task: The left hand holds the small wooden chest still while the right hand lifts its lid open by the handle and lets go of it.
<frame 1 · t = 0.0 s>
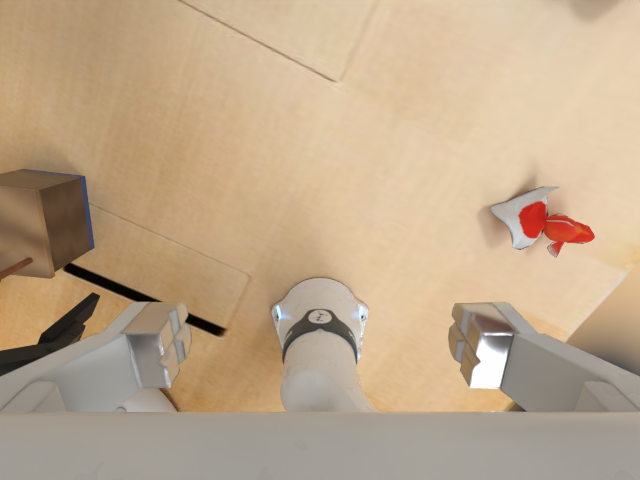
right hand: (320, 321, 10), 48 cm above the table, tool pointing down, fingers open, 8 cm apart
fish: (525, 216, 59), on the table
chest: (60, 210, 59), on the table
white rounded block: (141, 398, 75), on the table
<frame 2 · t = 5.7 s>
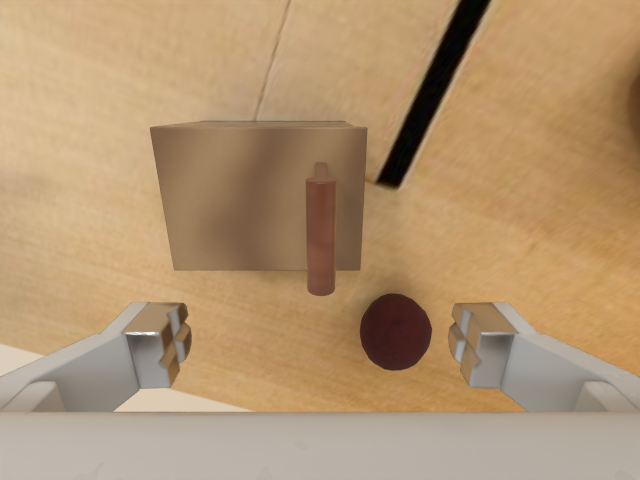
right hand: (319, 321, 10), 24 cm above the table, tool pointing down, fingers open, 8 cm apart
chest: (276, 175, 33), on the table
lid: (255, 218, 20), point 14 cm above the table, hinge at 0.0°
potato: (388, 311, 39), on the table
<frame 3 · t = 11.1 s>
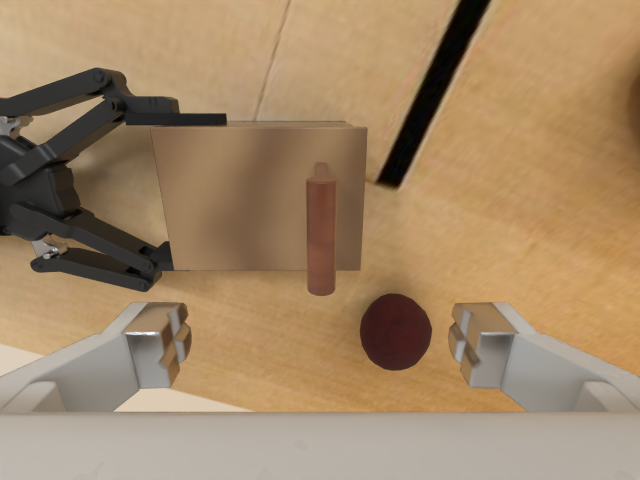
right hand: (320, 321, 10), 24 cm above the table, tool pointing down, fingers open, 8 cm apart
left hand: (228, 189, 27), fingers closed on chest, 10 cm apart
chest: (276, 175, 33), on the table, touching left hand
lid: (255, 218, 20), point 14 cm above the table, hinge at -0.1°
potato: (388, 311, 39), on the table
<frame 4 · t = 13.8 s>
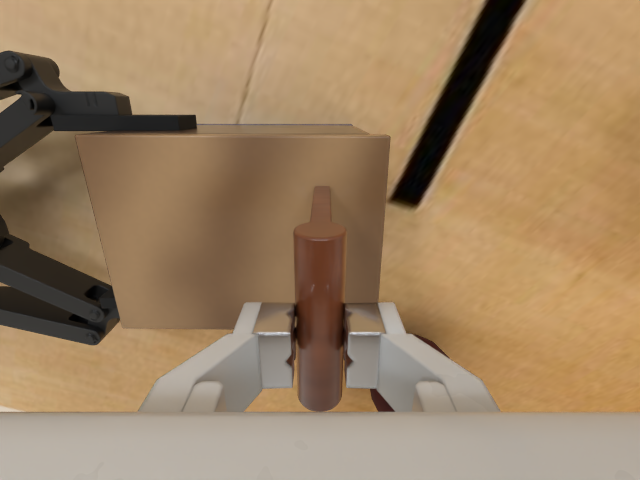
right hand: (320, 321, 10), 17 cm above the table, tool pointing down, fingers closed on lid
left hand: (200, 215, 21), fingers closed on chest, 10 cm apart
chest: (265, 191, 27), on the table, touching left hand
lid: (222, 271, 14), point 14 cm above the table, hinge at 1.2°, touching right hand
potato: (402, 351, 32), on the table
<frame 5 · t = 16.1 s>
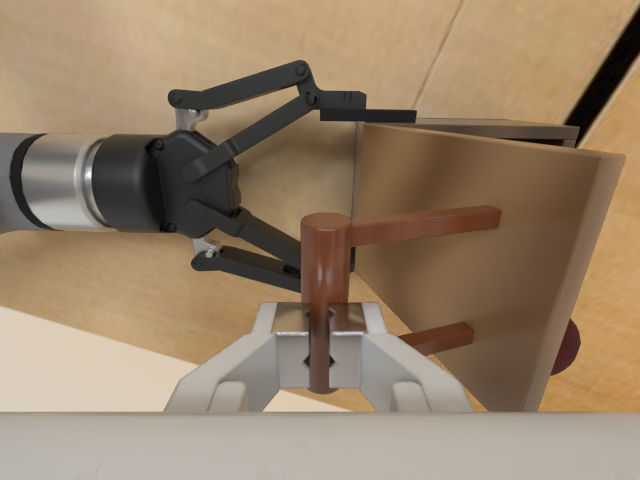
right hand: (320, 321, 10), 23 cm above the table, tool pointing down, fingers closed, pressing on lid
left hand: (403, 189, 26), fingers closed on chest, 10 cm apart
chest: (423, 174, 32), on the table, touching left hand
lid: (361, 248, 15), point 18 cm above the table, hinge at 69.2°, touching right hand
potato: (516, 314, 37), on the table
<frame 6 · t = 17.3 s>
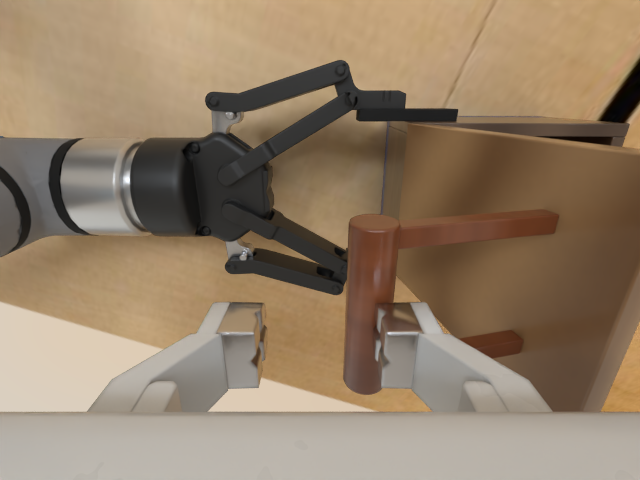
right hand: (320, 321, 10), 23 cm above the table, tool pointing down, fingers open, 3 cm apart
left hand: (440, 189, 26), fingers closed on chest, 10 cm apart
chest: (454, 173, 32), on the table, touching left hand
lid: (404, 250, 15), point 18 cm above the table, hinge at 74.7°, touching right hand
when the left hand's fingers open (6 cm above the table, at t = 20.9 s): chest stays where it is, on the table.
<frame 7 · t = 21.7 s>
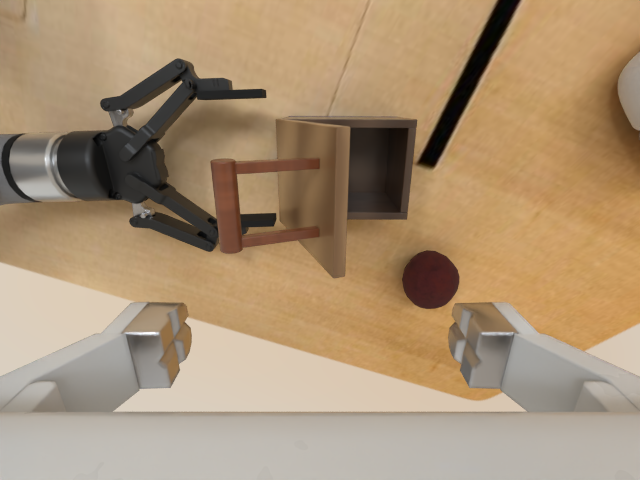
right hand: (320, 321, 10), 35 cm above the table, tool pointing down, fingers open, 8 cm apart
left hand: (270, 160, 37), fingers open, 13 cm apart
chest: (341, 158, 43), on the table
lid: (263, 190, 27), point 18 cm above the table, hinge at 68.1°
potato: (422, 267, 49), on the table
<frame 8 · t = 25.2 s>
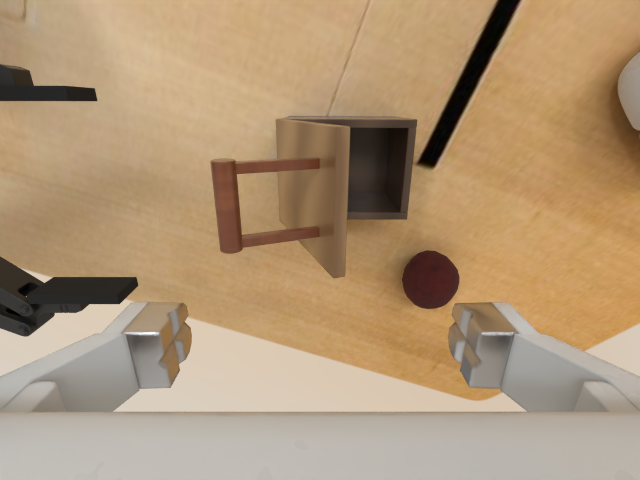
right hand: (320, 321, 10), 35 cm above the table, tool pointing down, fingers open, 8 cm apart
chest: (341, 158, 43), on the table
lid: (263, 190, 27), point 18 cm above the table, hinge at 68.1°
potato: (422, 267, 49), on the table
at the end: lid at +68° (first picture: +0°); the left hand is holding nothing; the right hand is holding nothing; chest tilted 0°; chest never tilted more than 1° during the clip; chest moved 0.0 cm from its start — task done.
